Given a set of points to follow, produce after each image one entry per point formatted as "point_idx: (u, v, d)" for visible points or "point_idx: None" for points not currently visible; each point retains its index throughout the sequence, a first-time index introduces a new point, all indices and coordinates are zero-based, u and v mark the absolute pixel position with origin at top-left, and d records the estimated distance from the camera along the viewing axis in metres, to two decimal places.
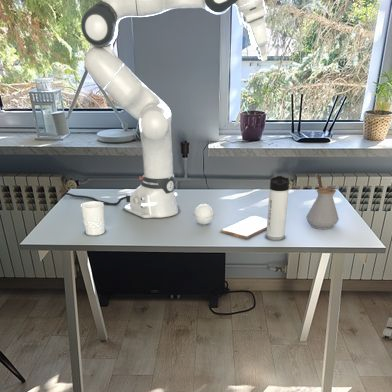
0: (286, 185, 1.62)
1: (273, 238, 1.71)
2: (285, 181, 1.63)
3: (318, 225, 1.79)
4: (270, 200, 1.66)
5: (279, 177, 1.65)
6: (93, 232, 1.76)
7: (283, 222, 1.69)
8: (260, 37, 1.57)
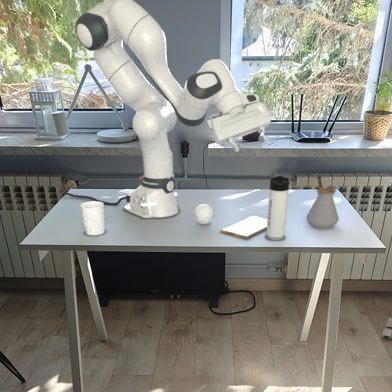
0: (286, 185, 1.62)
1: (273, 238, 1.71)
2: (285, 181, 1.63)
3: (318, 225, 1.79)
4: (270, 200, 1.66)
5: (279, 177, 1.65)
6: (93, 232, 1.76)
7: (283, 222, 1.69)
8: None
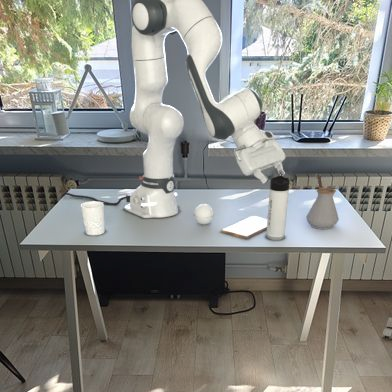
0: (286, 185, 1.62)
1: (273, 238, 1.71)
2: (285, 181, 1.63)
3: (318, 225, 1.79)
4: (270, 200, 1.66)
5: (279, 177, 1.65)
6: (93, 232, 1.76)
7: (283, 222, 1.69)
8: None
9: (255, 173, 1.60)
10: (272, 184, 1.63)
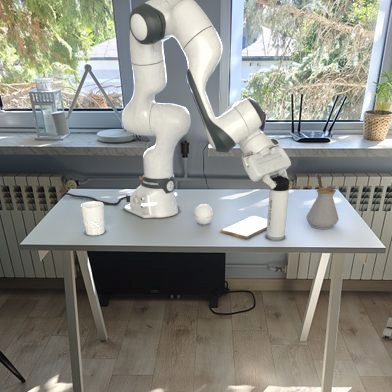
0: (286, 185, 1.62)
1: (273, 238, 1.71)
2: (285, 181, 1.63)
3: (318, 225, 1.79)
4: (270, 200, 1.66)
5: (279, 177, 1.65)
6: (93, 232, 1.76)
7: (283, 222, 1.69)
8: None
9: (264, 179, 1.61)
10: None
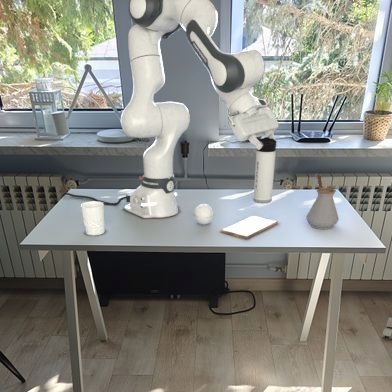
0: (273, 146, 1.61)
1: (260, 201, 1.70)
2: (272, 142, 1.62)
3: (318, 225, 1.79)
4: (257, 162, 1.64)
5: (266, 138, 1.64)
6: (93, 232, 1.76)
7: (270, 185, 1.68)
8: None
9: (250, 139, 1.59)
10: None
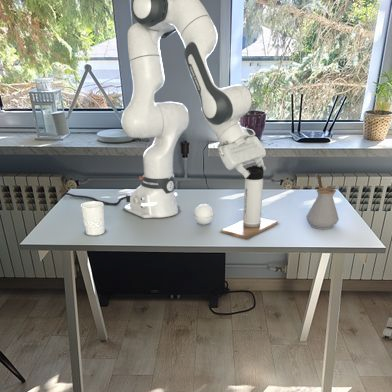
0: (260, 174, 1.70)
1: (249, 225, 1.79)
2: (260, 170, 1.71)
3: (318, 225, 1.79)
4: (246, 189, 1.74)
5: (254, 167, 1.73)
6: (93, 232, 1.76)
7: (258, 210, 1.77)
8: None
9: (237, 168, 1.68)
10: None
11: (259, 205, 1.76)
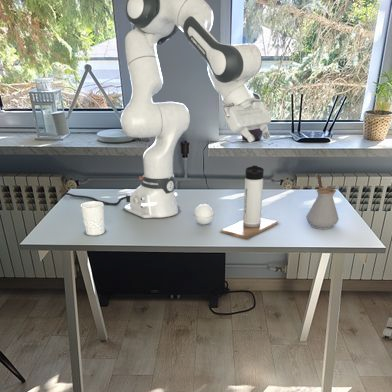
0: (260, 174, 1.70)
1: (249, 225, 1.79)
2: (260, 170, 1.71)
3: (318, 225, 1.79)
4: (246, 189, 1.74)
5: (254, 167, 1.73)
6: (93, 232, 1.76)
7: (258, 210, 1.77)
8: None
9: (242, 131, 1.62)
10: (247, 173, 1.71)
11: (259, 205, 1.76)
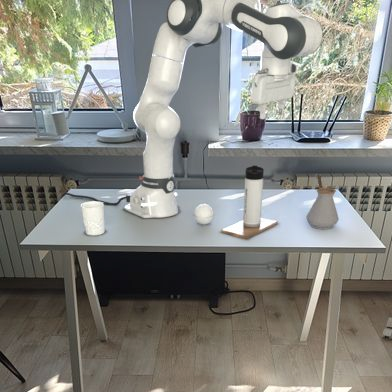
0: (260, 174, 1.70)
1: (249, 225, 1.79)
2: (260, 170, 1.71)
3: (318, 225, 1.79)
4: (246, 189, 1.74)
5: (254, 167, 1.73)
6: (93, 232, 1.76)
7: (258, 210, 1.77)
8: None
9: (260, 105, 1.55)
10: (247, 173, 1.71)
11: (259, 205, 1.76)
